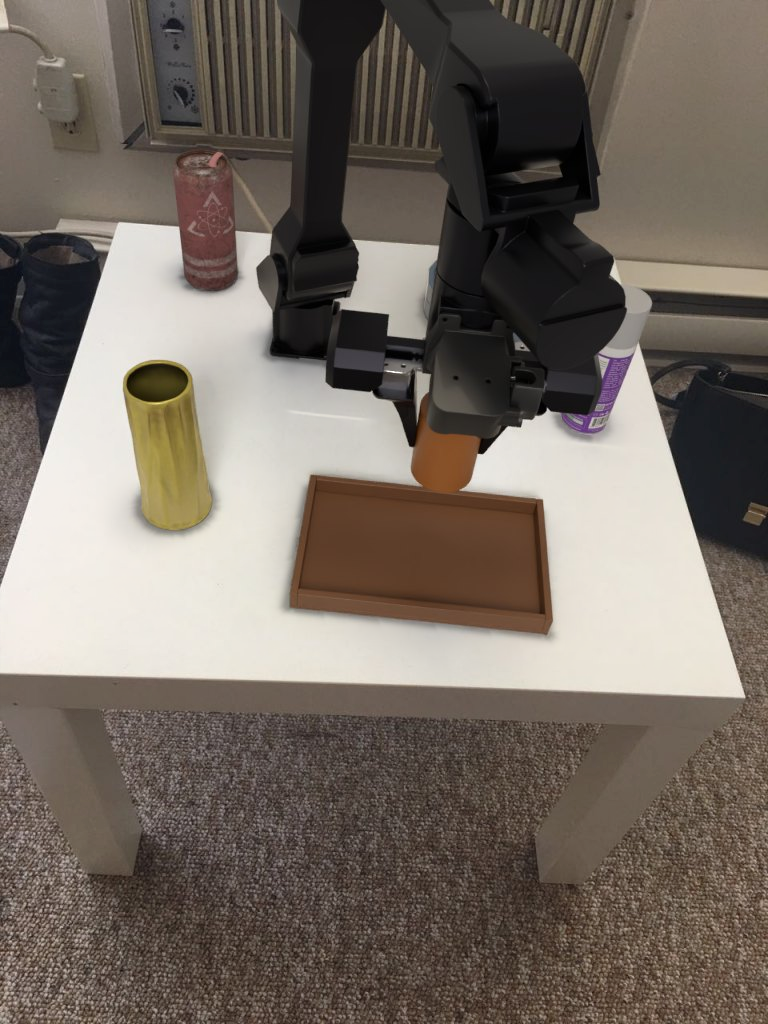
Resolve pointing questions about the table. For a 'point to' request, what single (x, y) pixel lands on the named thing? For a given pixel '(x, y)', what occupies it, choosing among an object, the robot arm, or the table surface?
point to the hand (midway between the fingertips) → (445, 446)
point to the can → (206, 219)
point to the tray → (423, 555)
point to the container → (614, 363)
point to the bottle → (442, 456)
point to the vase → (167, 444)
